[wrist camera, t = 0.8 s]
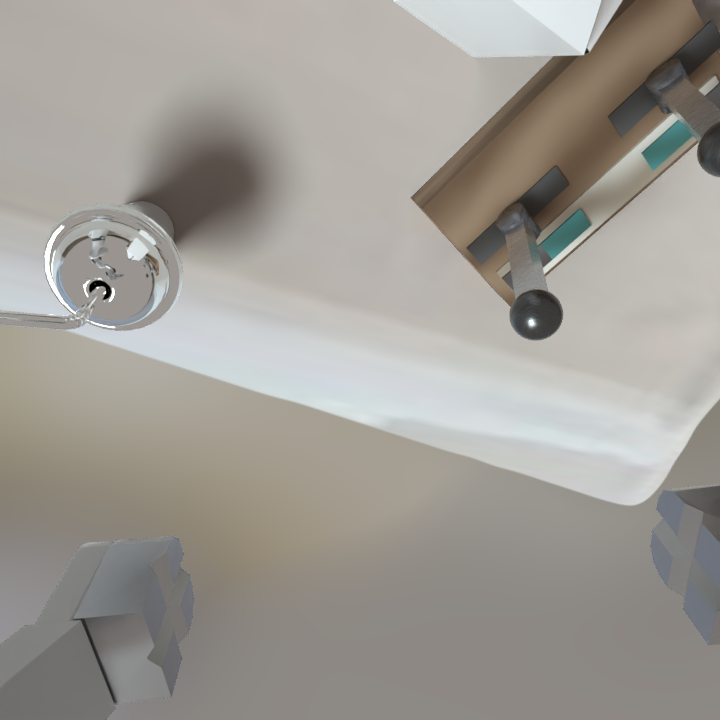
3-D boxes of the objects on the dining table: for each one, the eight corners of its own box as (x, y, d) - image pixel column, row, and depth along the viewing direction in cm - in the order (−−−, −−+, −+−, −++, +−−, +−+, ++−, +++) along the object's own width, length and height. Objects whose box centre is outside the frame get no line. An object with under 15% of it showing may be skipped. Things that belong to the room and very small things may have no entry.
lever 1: (488, 216, 45) (501, 327, 34) (523, 192, 43) (548, 300, 33) (511, 244, 46) (530, 358, 36) (545, 221, 44) (577, 334, 34)
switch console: (410, 197, 47) (423, 210, 43) (645, -34, 41) (684, -44, 37) (494, 290, 52) (513, 309, 48) (713, 94, 46) (754, 98, 43)
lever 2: (633, 80, 41) (698, 156, 31) (677, 47, 40) (761, 116, 29) (654, 114, 43) (722, 197, 32) (697, 83, 41) (784, 161, 31)
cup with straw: (161, 299, 48) (100, 435, 31) (60, 232, 44) (-75, 344, 27) (220, 222, 46) (190, 322, 28) (119, 145, 42) (12, 206, 25)
